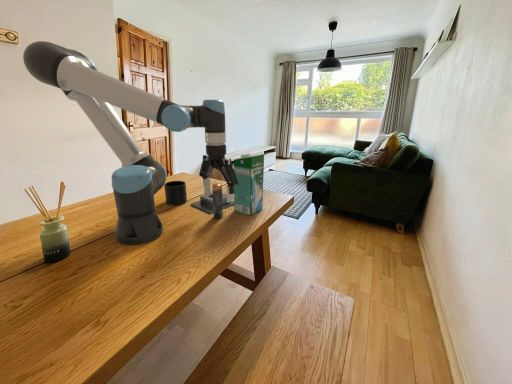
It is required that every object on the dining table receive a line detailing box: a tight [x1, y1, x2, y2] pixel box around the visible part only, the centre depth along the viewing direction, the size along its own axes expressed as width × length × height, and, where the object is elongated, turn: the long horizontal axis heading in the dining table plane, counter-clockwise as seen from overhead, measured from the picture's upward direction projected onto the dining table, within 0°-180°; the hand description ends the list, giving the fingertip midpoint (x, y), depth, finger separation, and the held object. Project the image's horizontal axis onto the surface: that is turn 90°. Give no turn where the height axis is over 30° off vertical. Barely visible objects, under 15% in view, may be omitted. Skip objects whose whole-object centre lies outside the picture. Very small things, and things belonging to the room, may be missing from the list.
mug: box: [163, 180, 188, 206], centre depth 116 cm, size 9×12×9 cm
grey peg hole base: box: [190, 192, 234, 214], centre depth 116 cm, size 22×14×4 cm, turn 139°
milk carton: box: [233, 153, 265, 217], centre depth 105 cm, size 9×9×25 cm
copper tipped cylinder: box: [211, 182, 224, 220], centre depth 99 cm, size 4×4×14 cm
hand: (218, 197), depth 98 cm, fingers open, 13 cm apart
